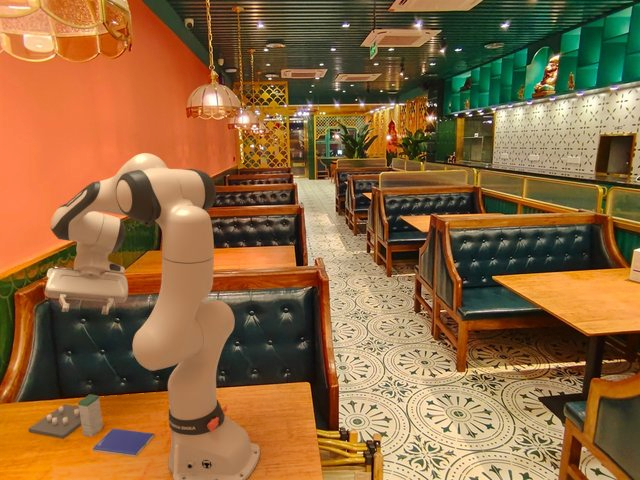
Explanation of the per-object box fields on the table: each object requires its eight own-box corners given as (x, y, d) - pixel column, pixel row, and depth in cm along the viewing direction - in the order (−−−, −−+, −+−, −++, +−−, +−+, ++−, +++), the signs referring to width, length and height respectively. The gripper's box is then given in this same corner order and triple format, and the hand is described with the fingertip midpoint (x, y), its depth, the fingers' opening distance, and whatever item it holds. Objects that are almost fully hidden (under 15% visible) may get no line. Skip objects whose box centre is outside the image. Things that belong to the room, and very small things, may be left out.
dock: (97, 412, 126) (96, 403, 126) (63, 438, 115) (62, 428, 114) (64, 407, 130) (63, 398, 129) (28, 431, 118) (27, 422, 118)
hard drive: (92, 447, 110) (135, 453, 107) (113, 427, 118) (153, 432, 115) (93, 453, 110) (136, 458, 108) (114, 432, 118) (154, 437, 116)
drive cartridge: (103, 427, 119) (98, 395, 117) (92, 437, 116) (87, 403, 113) (94, 426, 120) (89, 394, 118) (83, 435, 116) (78, 402, 114)
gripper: (49, 259, 115) (40, 302, 107) (130, 268, 126) (128, 308, 117) (47, 272, 119) (38, 315, 111) (126, 280, 129) (123, 320, 121)
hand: (85, 312), depth 114 cm, fingers open, 8 cm apart
